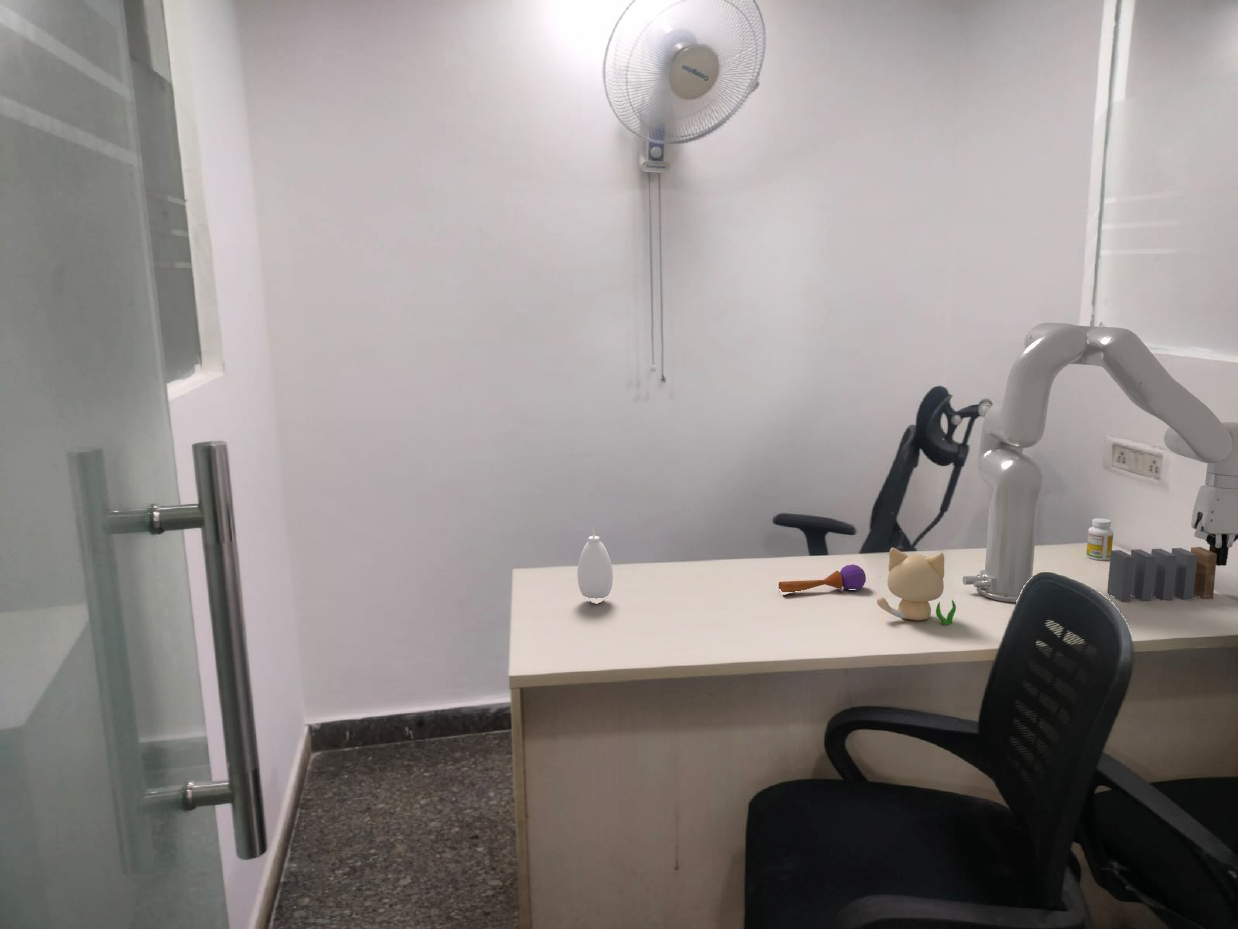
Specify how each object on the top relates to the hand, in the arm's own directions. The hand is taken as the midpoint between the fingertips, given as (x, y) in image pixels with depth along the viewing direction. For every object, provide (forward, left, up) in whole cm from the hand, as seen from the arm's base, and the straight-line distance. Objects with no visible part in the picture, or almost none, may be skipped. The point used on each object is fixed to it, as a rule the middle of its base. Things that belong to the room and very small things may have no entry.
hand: (1217, 563), depth 177 cm
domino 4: (-7, 0, -7) cm, 10 cm away
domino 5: (-3, 0, -7) cm, 7 cm away
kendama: (-83, +10, -7) cm, 84 cm away
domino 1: (-21, 0, -7) cm, 22 cm away
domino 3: (-12, 0, -7) cm, 14 cm away
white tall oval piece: (-135, +8, -7) cm, 135 cm away
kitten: (-68, -7, -7) cm, 69 cm away
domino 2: (-16, 0, -7) cm, 18 cm away
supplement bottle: (-9, +27, -7) cm, 29 cm away
